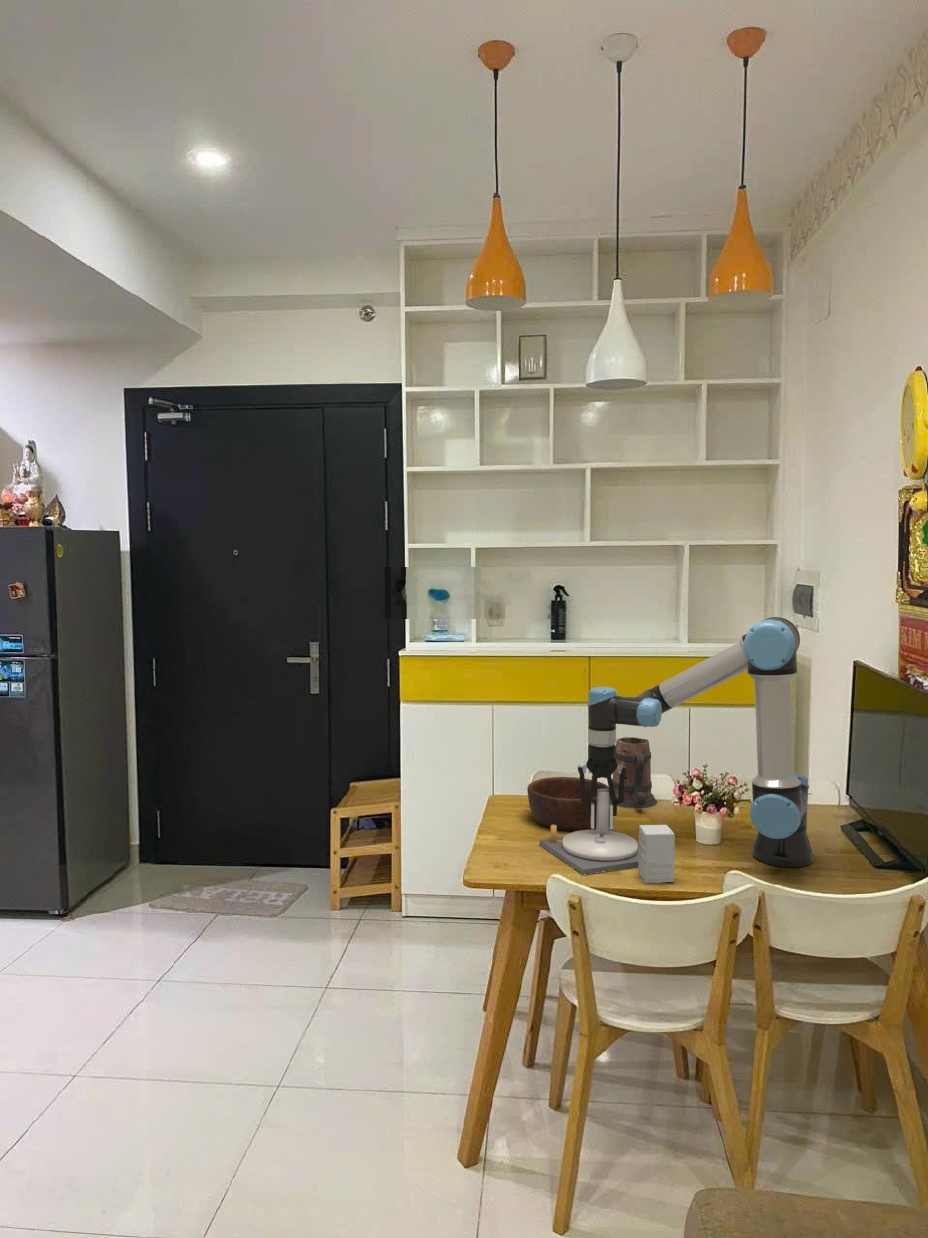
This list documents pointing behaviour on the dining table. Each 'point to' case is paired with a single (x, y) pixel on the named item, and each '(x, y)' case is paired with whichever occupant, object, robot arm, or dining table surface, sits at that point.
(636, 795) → the tankard
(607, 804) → the grey round-based post piece
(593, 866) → the dial plate
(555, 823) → the wooden bowl
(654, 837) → the supplement box
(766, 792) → the robot arm
